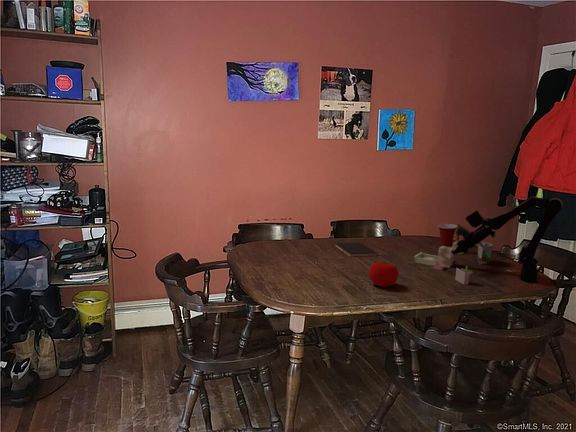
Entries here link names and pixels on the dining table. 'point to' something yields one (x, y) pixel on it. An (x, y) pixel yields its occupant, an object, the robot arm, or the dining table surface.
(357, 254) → the hardcover book
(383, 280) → the tomato
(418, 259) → the channel
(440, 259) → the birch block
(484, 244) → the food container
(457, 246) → the hand bell
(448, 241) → the plastic cup
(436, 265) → the trap bays
